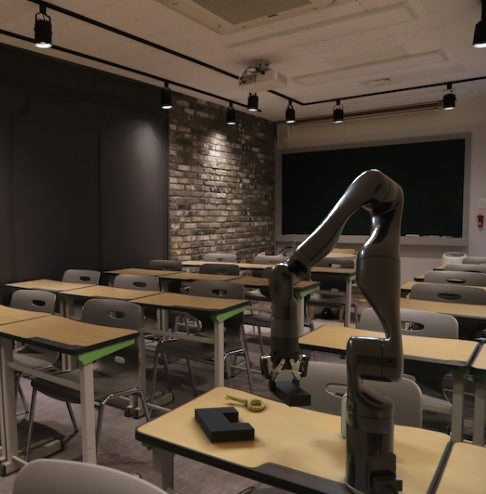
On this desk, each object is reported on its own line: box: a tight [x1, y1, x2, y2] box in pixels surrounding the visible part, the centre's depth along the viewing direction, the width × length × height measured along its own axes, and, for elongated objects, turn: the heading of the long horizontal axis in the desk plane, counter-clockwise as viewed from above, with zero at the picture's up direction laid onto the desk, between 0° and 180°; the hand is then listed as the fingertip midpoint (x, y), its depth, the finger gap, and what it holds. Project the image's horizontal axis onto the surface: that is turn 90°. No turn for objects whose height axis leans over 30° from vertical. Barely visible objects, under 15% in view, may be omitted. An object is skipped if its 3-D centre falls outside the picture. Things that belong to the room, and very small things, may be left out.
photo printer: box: [340, 392, 347, 438], centre depth 133 cm, size 10×4×12 cm, turn 123°
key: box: [224, 394, 266, 412], centre depth 154 cm, size 7×12×2 cm, turn 77°
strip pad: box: [272, 380, 312, 408], centre depth 135 cm, size 6×12×3 cm, turn 7°
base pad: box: [194, 406, 256, 444], centre depth 137 cm, size 16×12×3 cm
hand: (283, 392), depth 138 cm, fingers closed on strip pad, 6 cm apart
